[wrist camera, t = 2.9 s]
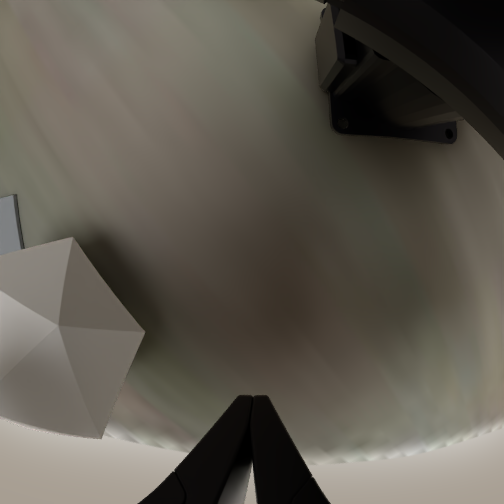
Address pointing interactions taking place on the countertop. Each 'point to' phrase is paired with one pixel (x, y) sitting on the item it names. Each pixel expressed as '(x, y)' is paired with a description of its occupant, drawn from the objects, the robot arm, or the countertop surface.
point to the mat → (10, 226)
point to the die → (61, 341)
